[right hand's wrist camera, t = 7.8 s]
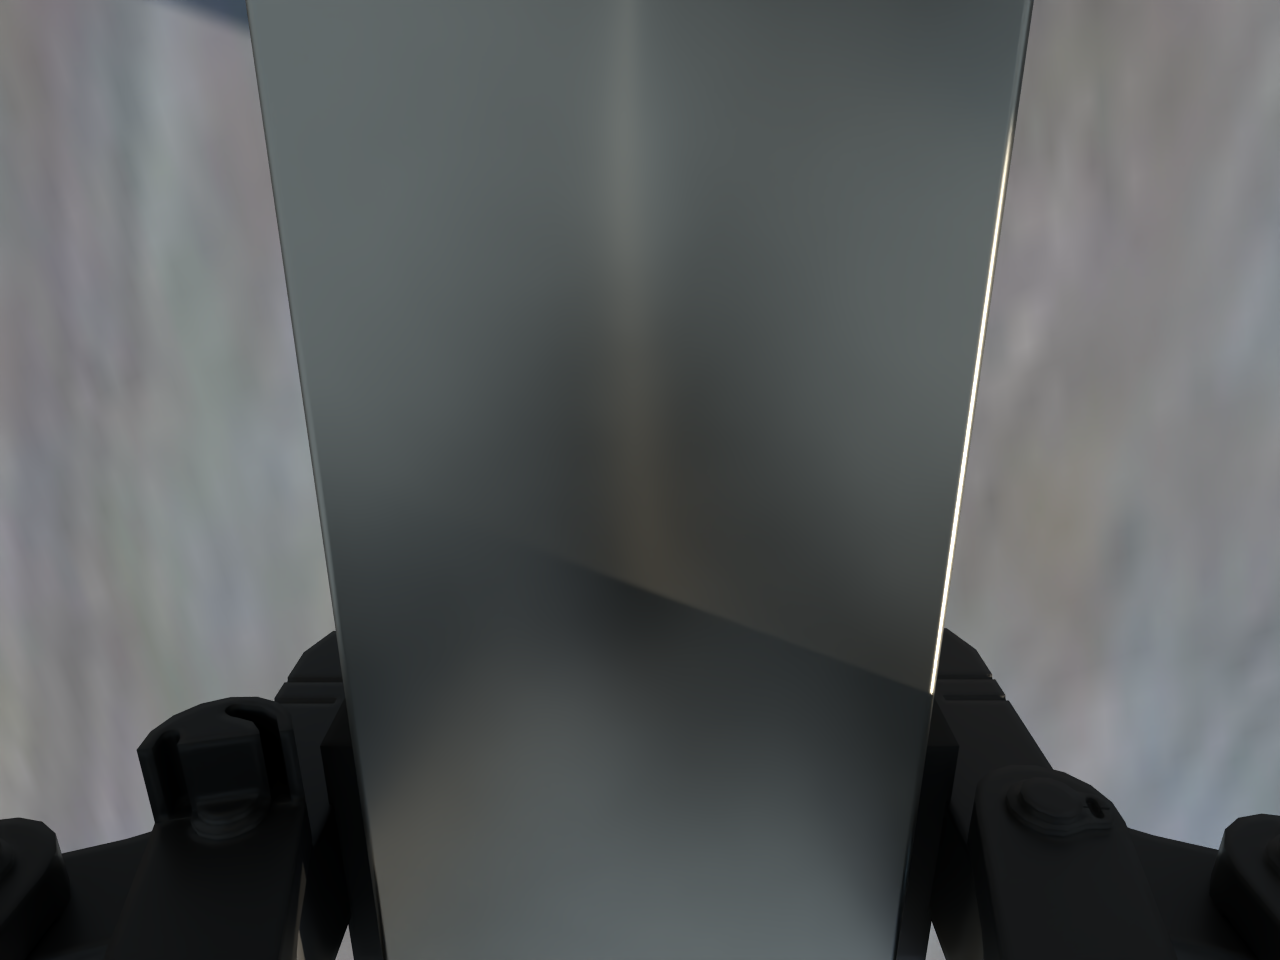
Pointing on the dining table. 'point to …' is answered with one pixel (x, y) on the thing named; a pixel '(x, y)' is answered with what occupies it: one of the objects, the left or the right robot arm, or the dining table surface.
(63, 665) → the dining table surface
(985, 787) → the right robot arm
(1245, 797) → the dining table surface
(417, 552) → the bar
